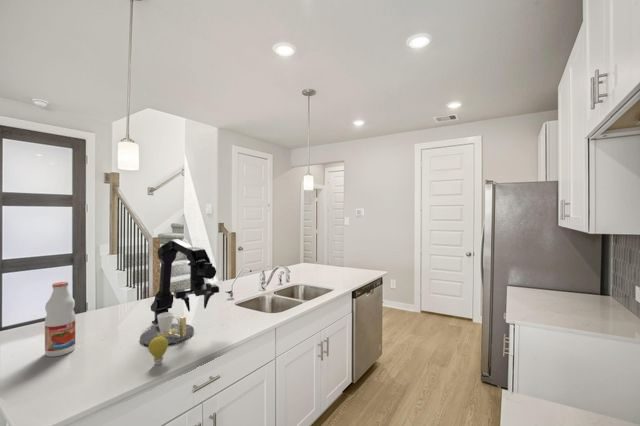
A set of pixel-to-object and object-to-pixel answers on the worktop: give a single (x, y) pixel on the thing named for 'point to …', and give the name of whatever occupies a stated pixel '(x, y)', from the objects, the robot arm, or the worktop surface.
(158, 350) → the light bulb
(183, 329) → the turntable
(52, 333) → the fruit juice
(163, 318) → the cup
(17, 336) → the worktop surface
